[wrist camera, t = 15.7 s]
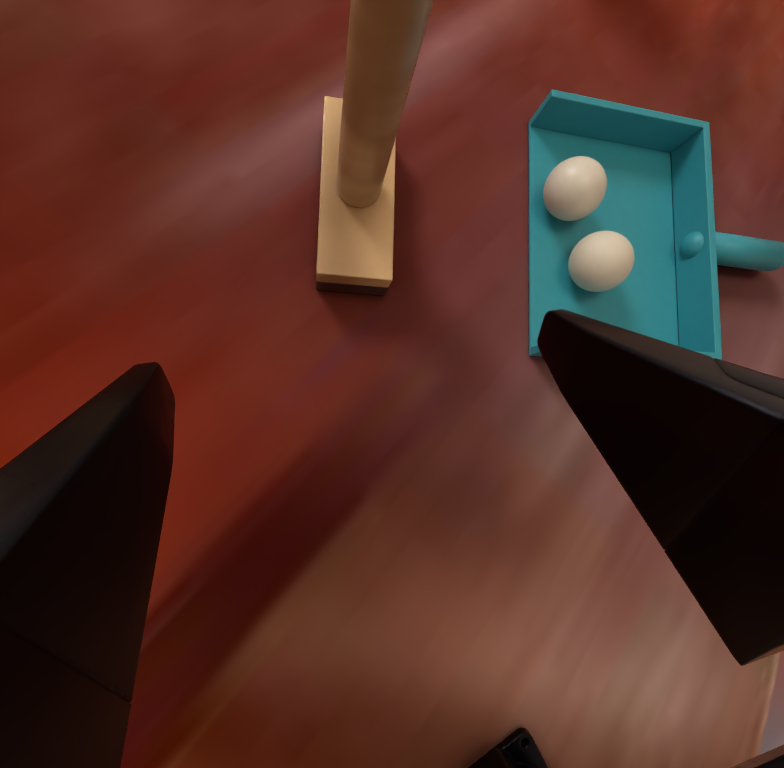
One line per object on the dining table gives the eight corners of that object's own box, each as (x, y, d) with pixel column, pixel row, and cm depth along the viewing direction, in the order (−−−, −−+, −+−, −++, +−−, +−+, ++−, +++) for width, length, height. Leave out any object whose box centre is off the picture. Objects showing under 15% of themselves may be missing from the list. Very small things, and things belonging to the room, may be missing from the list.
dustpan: (528, 355, 25) (553, 347, 22) (528, 121, 27) (551, 88, 24) (766, 373, 28) (812, 367, 26) (752, 164, 30) (794, 139, 27)
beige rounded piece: (596, 287, 27) (652, 273, 24) (566, 305, 25) (622, 292, 22) (581, 236, 26) (637, 214, 23) (549, 250, 25) (605, 229, 22)
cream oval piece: (616, 204, 25) (624, 173, 22) (564, 241, 26) (563, 217, 23) (583, 165, 26) (584, 129, 23) (534, 202, 27) (528, 173, 24)
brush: (388, 140, 25) (470, -182, 12) (384, 296, 24) (470, 135, 10) (323, 130, 24) (332, -226, 11) (316, 290, 23) (316, 110, 10)
